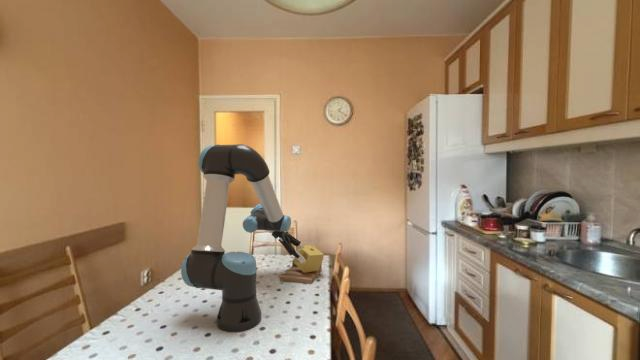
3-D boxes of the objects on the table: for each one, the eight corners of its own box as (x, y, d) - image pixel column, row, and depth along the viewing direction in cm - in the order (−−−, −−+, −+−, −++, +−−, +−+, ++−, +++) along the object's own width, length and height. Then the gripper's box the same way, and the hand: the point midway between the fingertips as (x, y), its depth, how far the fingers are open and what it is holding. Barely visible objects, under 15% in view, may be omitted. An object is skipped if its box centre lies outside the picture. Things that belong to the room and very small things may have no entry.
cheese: (292, 262, 150) (298, 245, 148) (308, 260, 157) (313, 244, 156) (303, 273, 143) (309, 255, 141) (319, 271, 150) (325, 254, 148)
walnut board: (311, 283, 137) (311, 273, 137) (279, 280, 141) (279, 270, 141) (321, 270, 157) (321, 261, 157) (293, 268, 161) (293, 259, 161)
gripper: (276, 229, 162) (303, 256, 162) (264, 239, 138) (296, 271, 137) (285, 219, 162) (312, 246, 161) (275, 228, 137) (307, 260, 137)
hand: (305, 257), depth 149 cm, fingers closed on cheese, 12 cm apart
